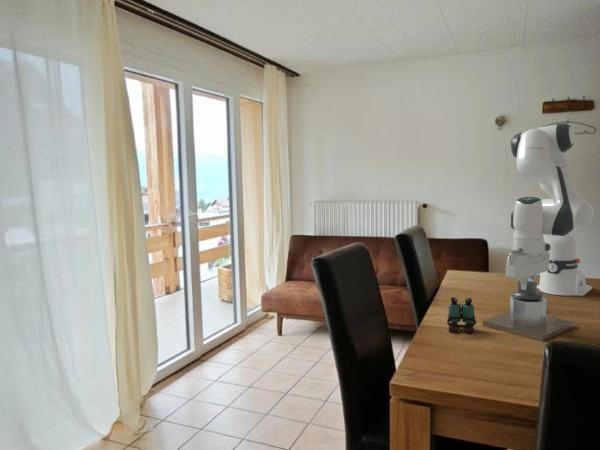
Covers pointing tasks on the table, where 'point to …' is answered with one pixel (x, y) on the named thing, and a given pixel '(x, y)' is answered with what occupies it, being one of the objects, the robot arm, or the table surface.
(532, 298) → the grey dial knob
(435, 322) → the table surface
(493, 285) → the table surface
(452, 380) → the table surface
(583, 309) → the table surface
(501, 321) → the square base plate
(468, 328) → the binoculars
